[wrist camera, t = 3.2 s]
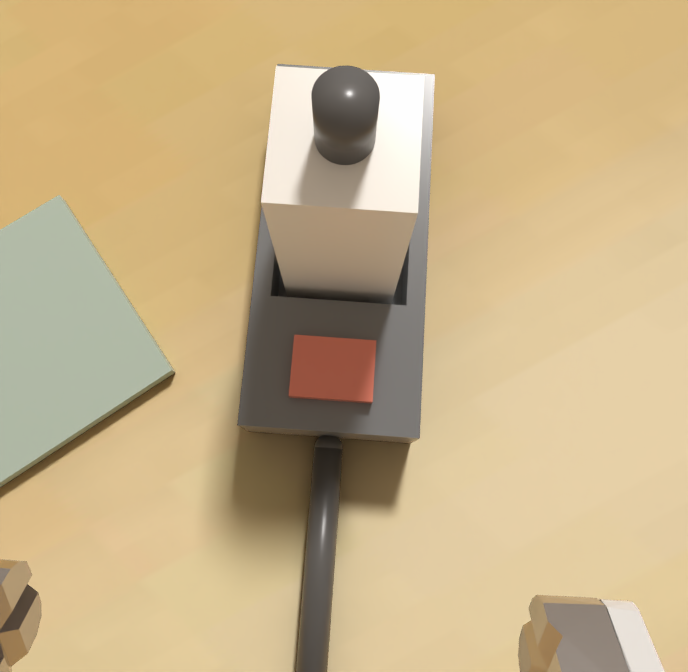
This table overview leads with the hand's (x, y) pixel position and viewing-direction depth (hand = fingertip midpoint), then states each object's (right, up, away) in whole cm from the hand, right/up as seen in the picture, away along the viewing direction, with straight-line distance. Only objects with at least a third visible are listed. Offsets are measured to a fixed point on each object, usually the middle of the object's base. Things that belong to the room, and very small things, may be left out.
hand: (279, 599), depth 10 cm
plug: (+1, +8, +18) cm, 19 cm away
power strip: (+1, +2, +17) cm, 17 cm away
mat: (-13, +4, +17) cm, 22 cm away
